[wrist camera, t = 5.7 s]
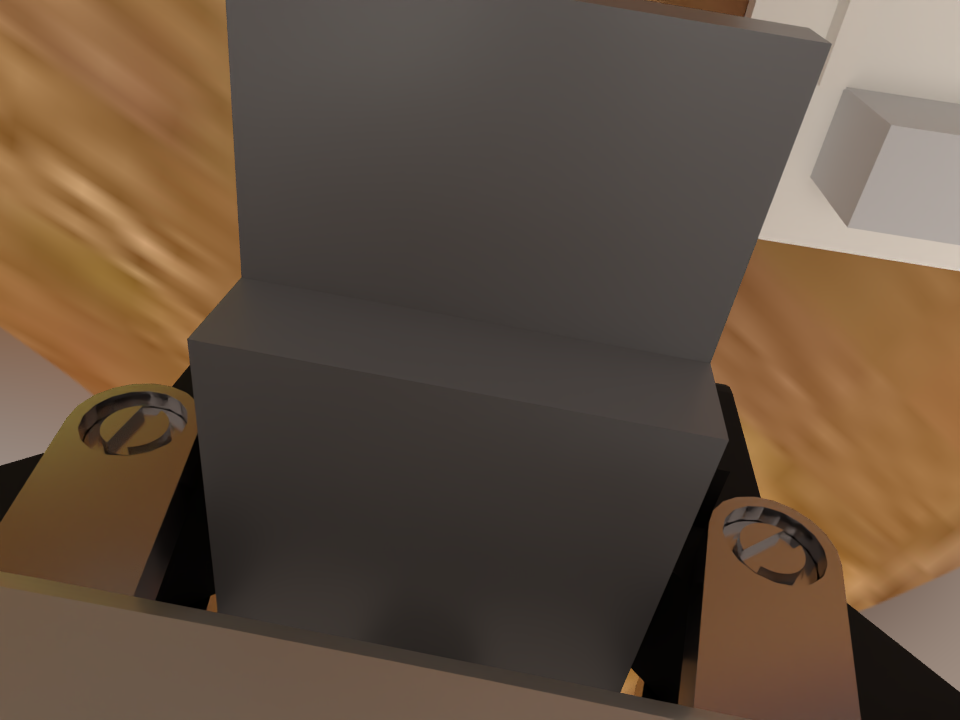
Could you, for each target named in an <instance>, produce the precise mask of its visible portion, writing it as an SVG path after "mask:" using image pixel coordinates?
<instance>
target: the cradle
mask: <svg viewBox="0 0 960 720" xmlns="http://www.w3.org/2000/svg"><path fill="white" fill-rule="evenodd" d="M745 17H747V18H753V19H759V20H765V21H771V22H777V23H783V24H789V25H795V26H801V27H807V28H810V29H811V30H813V31H814V32H816V33H817V34H818V35H820V36H821V37H823V38H824V39H826V40H827V41H829V42H830V43H831V44H832V45H831V48H830V51H829V53H828V56H827V59H826V61H825V64H824V66H823V69H822V72H821V74H820V77H819V80H818V82H817V85H816V87H815V90H814V93H813V95H812V98H811V100H810V103H809V106H808V108H807V111H806V114H805V116H804V119H803V121H802V124H801V127H800V129H799V132H798V135H797V137H796V140H795V142H794V145H793V148H792V150H791V153H790V155H789V158H788V161H787V163H786V166H785V169H784V171H783V174H782V176H781V179H780V182H779V184H778V187H777V190H776V192H775V195H774V197H773V200H772V203H771V205H770V208H769V210H768V213H767V216H766V218H765V221H764V224H763V226H762V229H761V231H760V234H759V237H758V239H762V240H768V241H774V242H781V243H787V244H793V245H799V246H806V247H812V248H818V249H824V250H831V251H837V252H843V253H849V254H856V255H862V256H868V257H874V258H881V259H887V260H893V261H899V262H906V263H912V264H918V265H924V266H931V267H937V268H943V269H949V270H956V271H960V0H749V3H748V6H747V10H746V13H745Z"/></svg>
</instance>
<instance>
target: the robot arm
mask: <svg viewBox="0 0 960 720" xmlns="http://www.w3.org/2000/svg"><path fill="white" fill-rule="evenodd" d="M715 385H716V389H717V393H718V397H719V402H720V406H721V410H722V414H723V418H724V422H725V426H726V430H727V434H728V439H729V441H728V443H727V446H726V448H725V450H724V453H723V455H722V457H721V460H720V462H719V464H718V467H717V469H716V471H715V473H714V476H713V478H712V480H711V483H710V485H709V487H708V490H707V492H706V494H705V497H704V499H703V501H702V504H701V506H700V508H699V511H698V513H697V515H696V518H695V520H694V522H693V525H692V527H691V529H690V532H689V534H688V536H687V538H686V541H685V543H684V545H683V548H682V550H681V552H680V555H679V557H678V559H677V562H676V564H675V566H674V569H673V571H672V573H671V576H670V578H669V580H668V583H667V585H666V587H665V590H664V592H663V594H662V597H661V599H660V601H659V603H658V606H657V608H656V610H655V613H654V615H653V617H652V620H651V622H650V624H649V627H648V629H647V631H646V634H645V636H644V638H643V641H642V643H641V645H640V648H639V650H638V652H637V655H636V657H635V659H634V661H633V664H632V666H631V668H632V669H633V670H634V672H635V673H636V674H637V675H638V676H639V679H638V681H637V684H636V688H635V694H634V696H633V695H628V694H624V693H619V692H614V691H609V690H604V689H599V688H594V687H589V686H584V685H579V684H575V683H570V682H565V681H560V680H555V679H550V678H545V677H540V676H535V675H530V674H525V673H520V672H515V671H510V670H505V669H500V668H495V667H490V666H485V665H480V664H475V663H470V662H465V661H460V660H455V659H450V658H445V657H440V656H435V655H430V654H425V653H420V652H415V651H410V650H405V649H400V648H395V647H390V646H385V645H380V644H375V643H369V642H364V641H359V640H354V639H349V638H344V637H339V636H334V635H329V634H324V633H319V632H314V631H309V630H304V629H299V628H294V627H288V626H283V625H278V624H273V623H268V622H263V621H258V620H253V619H248V618H242V617H237V616H232V615H227V614H222V613H217V602H216V593H215V584H214V575H213V566H212V557H211V548H210V539H209V530H208V521H207V512H206V503H205V494H204V485H203V475H202V466H201V457H200V448H199V439H198V430H197V421H196V412H195V403H194V394H193V385H192V376H191V367H190V366H189V367H188V368H187V369H186V370H185V372H184V373H183V374H182V375H181V376H180V378H179V379H178V380H177V381H176V383H175V384H174V385H173V386H172V387H171V386H165V385H159V384H132V385H126V386H121V387H116V388H112V389H109V390H107V391H104V392H101V393H99V394H96V395H94V396H92V397H91V398H89V399H87V400H86V401H84V402H83V403H81V404H80V405H78V406H77V407H76V408H75V409H74V411H73V412H72V413H71V414H70V415H69V416H68V417H67V418H66V420H65V422H64V423H63V425H62V427H61V428H60V430H59V431H58V433H57V434H56V436H55V437H54V439H53V440H52V442H51V444H50V445H49V447H48V448H47V450H46V451H45V453H42V454H39V455H35V456H32V457H29V458H25V459H22V460H18V461H15V462H12V463H8V464H5V465H1V466H0V720H960V692H959V691H958V690H956V689H955V688H954V687H952V686H951V685H950V684H949V683H947V682H946V681H945V680H944V679H942V678H941V677H940V676H938V675H937V674H936V673H935V672H934V671H932V670H931V669H930V668H928V667H927V666H926V665H925V664H923V663H922V662H921V661H920V660H918V659H917V658H916V657H914V656H913V655H912V654H911V653H909V652H908V651H907V650H906V649H904V648H903V647H902V646H900V645H899V644H898V643H897V642H895V641H894V640H893V639H892V638H890V637H889V636H888V635H887V634H885V633H884V632H883V631H882V630H880V629H879V628H878V627H876V626H875V625H874V624H873V623H871V622H870V621H869V620H867V619H866V618H865V617H864V616H863V615H861V614H860V613H859V612H858V611H856V610H855V609H854V608H852V607H851V606H850V605H849V604H847V602H846V594H845V586H844V578H843V570H842V564H841V561H840V558H839V555H838V552H837V549H836V548H835V547H834V545H833V544H832V542H831V541H830V539H829V538H828V536H827V535H826V534H825V533H824V532H823V531H822V530H821V529H820V528H819V527H818V526H817V525H815V524H814V523H813V522H812V521H811V520H810V519H808V518H807V517H805V516H803V515H802V514H800V513H799V512H797V511H796V510H794V509H792V508H790V507H787V506H785V505H783V504H780V503H778V502H775V501H772V500H768V499H763V498H761V497H760V493H759V490H758V486H757V482H756V479H755V475H754V471H753V468H752V464H751V460H750V456H749V453H748V449H747V445H746V442H745V438H744V434H743V431H742V427H741V423H740V419H739V416H738V412H737V408H736V405H735V401H734V397H733V394H732V391H731V389H730V387H729V386H727V385H724V384H718V383H715Z"/></svg>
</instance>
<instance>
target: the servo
mask: <svg viewBox="0 0 960 720" xmlns="http://www.w3.org/2000/svg"><path fill="white" fill-rule="evenodd" d="M226 13H227V31H228V48H229V66H230V83H231V100H232V118H233V135H234V153H235V170H236V188H237V205H238V223H239V240H240V257H241V275H242V277H241V279H240V280H239V281H238V282H237V283H236V284H235V285H234V287H233V288H232V289H231V290H230V291H229V292H228V293H227V295H226V296H225V297H224V298H223V299H222V300H221V301H220V303H219V304H218V305H217V306H216V307H215V308H214V309H213V311H212V312H211V313H210V314H209V315H208V316H207V317H206V318H205V320H204V321H203V322H202V323H201V324H200V325H199V326H198V328H197V329H196V330H195V331H194V332H193V333H192V334H191V336H190V337H189V338H188V339H187V340H188V349H189V358H190V367H191V376H192V385H193V394H194V403H195V412H196V421H197V430H198V439H199V448H200V457H201V466H202V475H203V485H204V494H205V503H206V512H207V521H208V530H209V539H210V548H211V557H212V566H213V575H214V584H215V593H216V602H217V611H218V613H222V614H227V615H232V616H237V617H242V618H248V619H253V620H258V621H263V622H268V623H273V624H278V625H283V626H288V627H294V628H299V629H304V630H309V631H314V632H319V633H324V634H329V635H334V636H339V637H344V638H349V639H354V640H359V641H364V642H369V643H375V644H380V645H385V646H390V647H395V648H400V649H405V650H410V651H415V652H420V653H425V654H430V655H435V656H440V657H445V658H450V659H455V660H460V661H465V662H470V663H475V664H480V665H485V666H490V667H495V668H500V669H505V670H510V671H515V672H520V673H525V674H530V675H535V676H540V677H545V678H550V679H555V680H560V681H565V682H570V683H575V684H579V685H584V686H589V687H594V688H599V689H604V690H609V691H614V692H619V693H620V692H621V689H622V687H623V685H624V682H625V680H626V678H627V675H628V673H629V671H630V668H631V666H632V664H633V661H634V659H635V657H636V655H637V652H638V650H639V648H640V645H641V643H642V641H643V638H644V636H645V634H646V631H647V629H648V627H649V624H650V622H651V620H652V617H653V615H654V613H655V610H656V608H657V606H658V603H659V601H660V599H661V597H662V594H663V592H664V590H665V587H666V585H667V583H668V580H669V578H670V576H671V573H672V571H673V569H674V566H675V564H676V562H677V559H678V557H679V555H680V552H681V550H682V548H683V545H684V543H685V541H686V538H687V536H688V534H689V532H690V529H691V527H692V525H693V522H694V520H695V518H696V515H697V513H698V511H699V508H700V506H701V504H702V501H703V499H704V497H705V494H706V492H707V490H708V487H709V485H710V483H711V480H712V478H713V476H714V473H715V471H716V469H717V467H718V464H719V462H720V460H721V457H722V455H723V453H724V450H725V448H726V446H727V443H728V441H729V439H728V434H727V430H726V426H725V422H724V418H723V414H722V410H721V406H720V402H719V397H718V393H717V389H716V385H715V381H714V377H713V373H712V369H711V364H710V362H711V360H712V357H713V355H714V352H715V349H716V347H717V344H718V341H719V339H720V336H721V334H722V331H723V328H724V326H725V323H726V320H727V318H728V315H729V313H730V310H731V307H732V305H733V302H734V300H735V297H736V294H737V292H738V289H739V286H740V284H741V281H742V279H743V276H744V273H745V271H746V268H747V265H748V263H749V260H750V258H751V255H752V252H753V250H754V247H755V245H756V242H757V239H758V237H759V234H760V231H761V229H762V226H763V224H764V221H765V218H766V216H767V213H768V210H769V208H770V205H771V203H772V200H773V197H774V195H775V192H776V190H777V187H778V184H779V182H780V179H781V176H782V174H783V171H784V169H785V166H786V163H787V161H788V158H789V155H790V153H791V150H792V148H793V145H794V142H795V140H796V137H797V135H798V132H799V129H800V127H801V124H802V121H803V119H804V116H805V114H806V111H807V108H808V106H809V103H810V100H811V98H812V95H813V93H814V90H815V87H816V85H817V82H818V80H819V77H820V74H821V72H822V69H823V66H824V64H825V61H826V59H827V56H828V53H829V51H830V48H831V45H832V44H831V43H830V42H829V41H827V40H826V39H824V38H823V37H821V36H820V35H818V34H817V33H816V32H814V31H813V30H811V29H810V28H807V27H801V26H795V25H789V24H783V23H777V22H771V21H765V20H759V19H753V18H747V17H741V16H735V15H729V14H723V13H717V12H711V11H706V10H700V9H694V8H688V7H682V6H676V5H670V4H664V3H658V2H652V1H646V0H226Z"/></svg>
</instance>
